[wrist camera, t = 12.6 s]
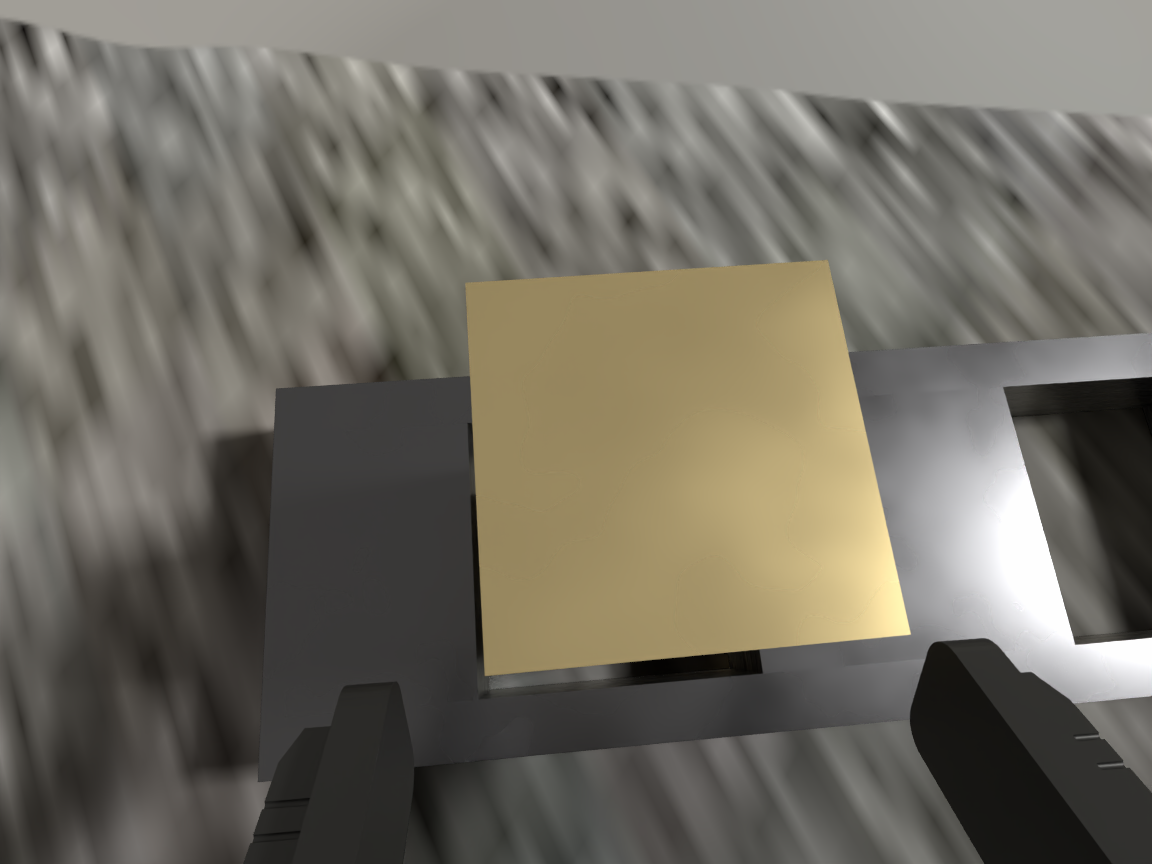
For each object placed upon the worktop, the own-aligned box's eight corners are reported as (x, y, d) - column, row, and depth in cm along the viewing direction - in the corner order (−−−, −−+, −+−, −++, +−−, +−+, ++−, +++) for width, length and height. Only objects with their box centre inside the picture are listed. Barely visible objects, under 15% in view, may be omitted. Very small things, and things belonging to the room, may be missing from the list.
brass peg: (668, 477, 20) (827, 260, 8) (690, 637, 19) (910, 634, 7) (515, 489, 20) (465, 282, 8) (526, 652, 18) (483, 676, 7)
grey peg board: (1270, 360, 22) (1379, 318, 19) (1389, 655, 19) (1537, 658, 16) (315, 424, 20) (276, 388, 17) (305, 758, 17) (257, 782, 15)
